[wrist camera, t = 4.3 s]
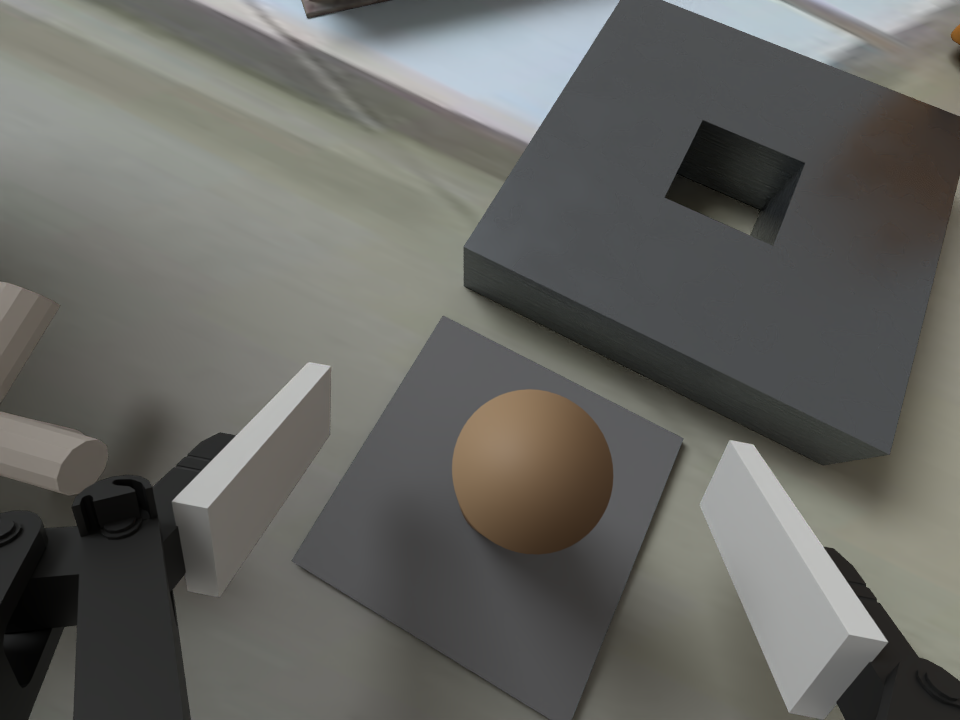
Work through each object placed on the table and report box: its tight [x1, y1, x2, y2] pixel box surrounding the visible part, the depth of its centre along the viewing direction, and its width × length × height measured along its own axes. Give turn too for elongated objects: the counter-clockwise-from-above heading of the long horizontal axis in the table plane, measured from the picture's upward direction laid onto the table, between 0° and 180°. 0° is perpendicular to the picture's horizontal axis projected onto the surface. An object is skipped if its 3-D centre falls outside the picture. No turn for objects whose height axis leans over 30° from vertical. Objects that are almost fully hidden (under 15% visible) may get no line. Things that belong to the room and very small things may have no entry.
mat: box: [292, 316, 684, 720], centre depth 20 cm, size 12×12×1 cm
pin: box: [452, 389, 613, 555], centre depth 15 cm, size 3×3×11 cm
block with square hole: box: [464, 0, 960, 465], centre depth 23 cm, size 18×18×4 cm
